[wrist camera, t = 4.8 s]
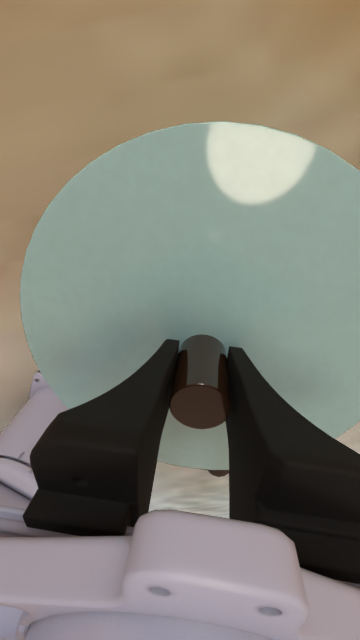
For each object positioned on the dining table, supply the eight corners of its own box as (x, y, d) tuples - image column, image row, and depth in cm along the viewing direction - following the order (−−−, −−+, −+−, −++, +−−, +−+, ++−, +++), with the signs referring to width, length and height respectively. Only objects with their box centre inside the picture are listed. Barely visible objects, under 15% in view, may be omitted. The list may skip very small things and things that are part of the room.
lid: (450, 390, 14) (552, 479, 10) (168, 481, 20) (158, 557, 16) (293, -31, 8) (391, -287, 3) (-35, 295, 14) (-136, 341, 10)
